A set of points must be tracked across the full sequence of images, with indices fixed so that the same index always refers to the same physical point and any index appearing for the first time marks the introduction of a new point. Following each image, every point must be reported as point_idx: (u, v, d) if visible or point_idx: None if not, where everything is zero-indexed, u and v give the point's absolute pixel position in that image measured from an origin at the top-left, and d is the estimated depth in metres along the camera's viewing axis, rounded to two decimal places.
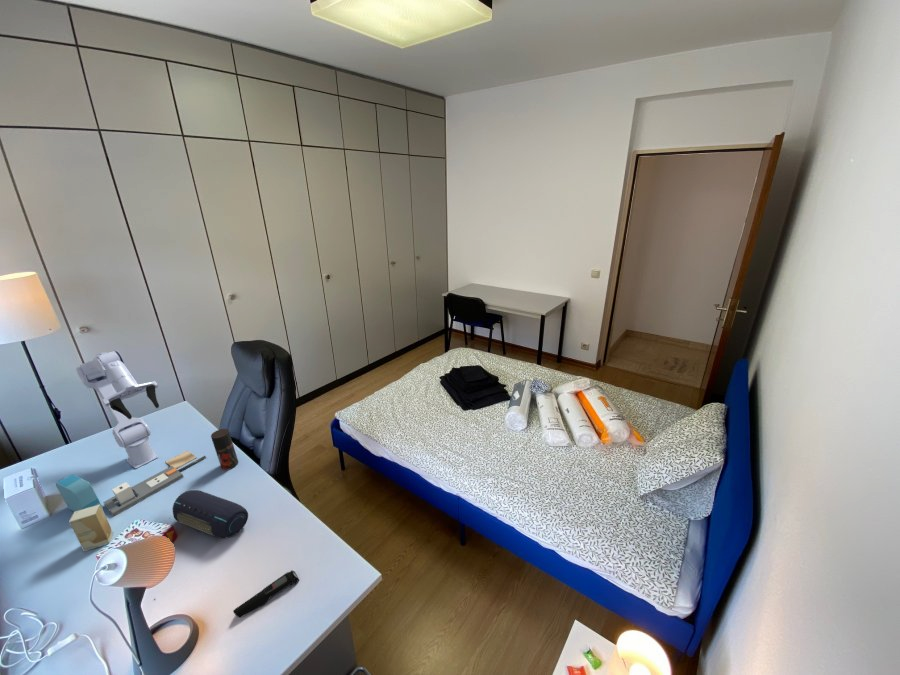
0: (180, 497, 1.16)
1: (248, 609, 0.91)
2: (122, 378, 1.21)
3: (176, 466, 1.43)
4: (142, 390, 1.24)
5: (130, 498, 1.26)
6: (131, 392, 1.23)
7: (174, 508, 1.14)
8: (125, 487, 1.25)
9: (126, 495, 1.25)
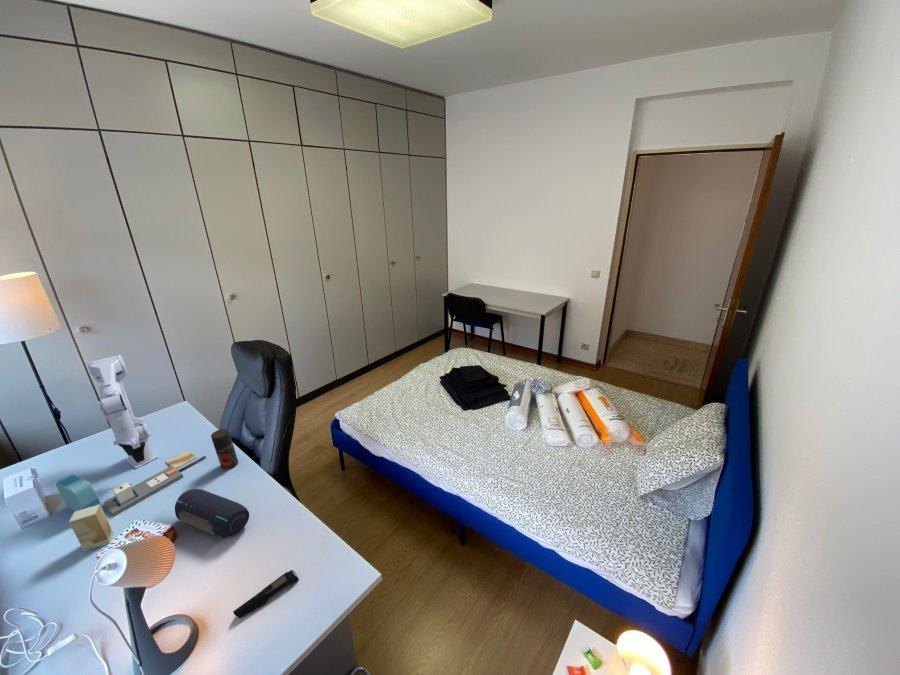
0: (182, 496, 1.16)
1: (248, 610, 0.91)
2: (113, 431, 1.26)
3: (176, 466, 1.43)
4: None
5: (130, 498, 1.26)
6: None
7: (176, 507, 1.15)
8: (125, 487, 1.25)
9: (126, 495, 1.25)
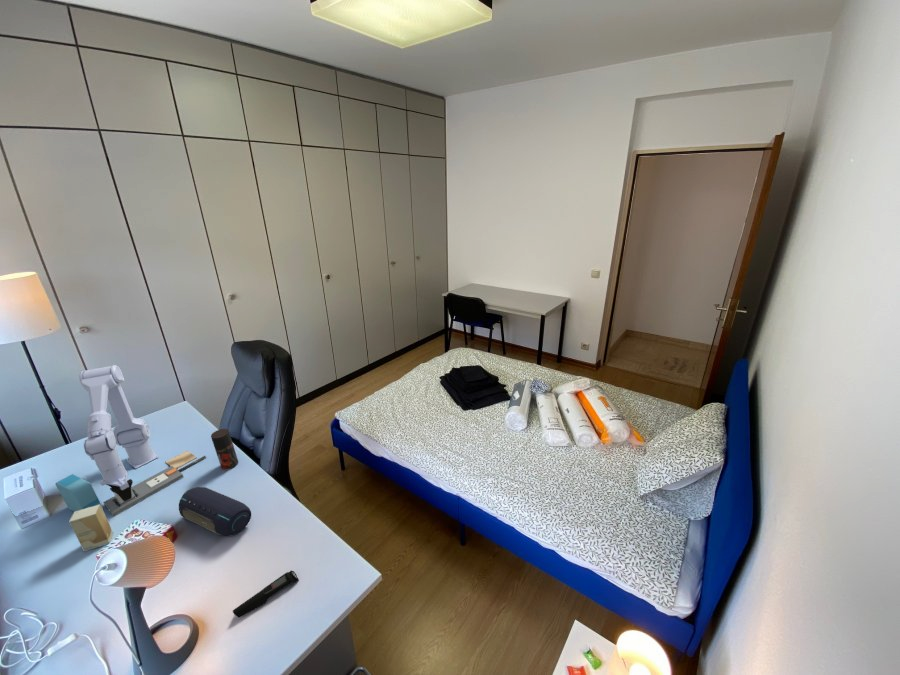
0: (186, 493, 1.17)
1: (247, 609, 0.91)
2: (100, 471, 1.20)
3: (176, 466, 1.43)
4: None
5: (130, 498, 1.26)
6: None
7: (180, 504, 1.15)
8: None
9: None
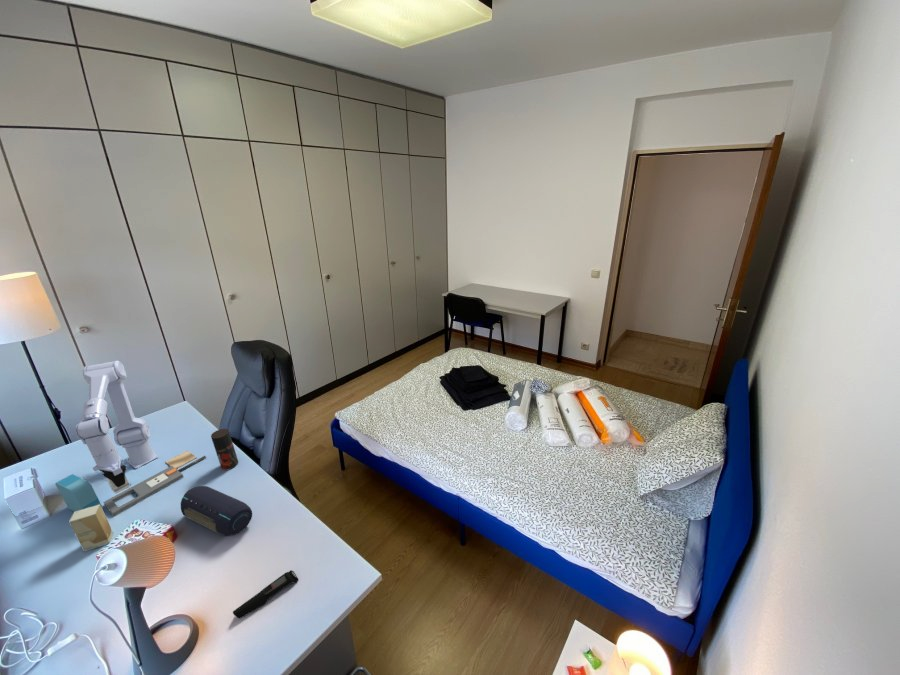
0: (188, 492, 1.18)
1: (248, 610, 0.91)
2: None
3: (176, 466, 1.43)
4: None
5: (124, 485, 1.24)
6: None
7: (182, 503, 1.16)
8: None
9: None
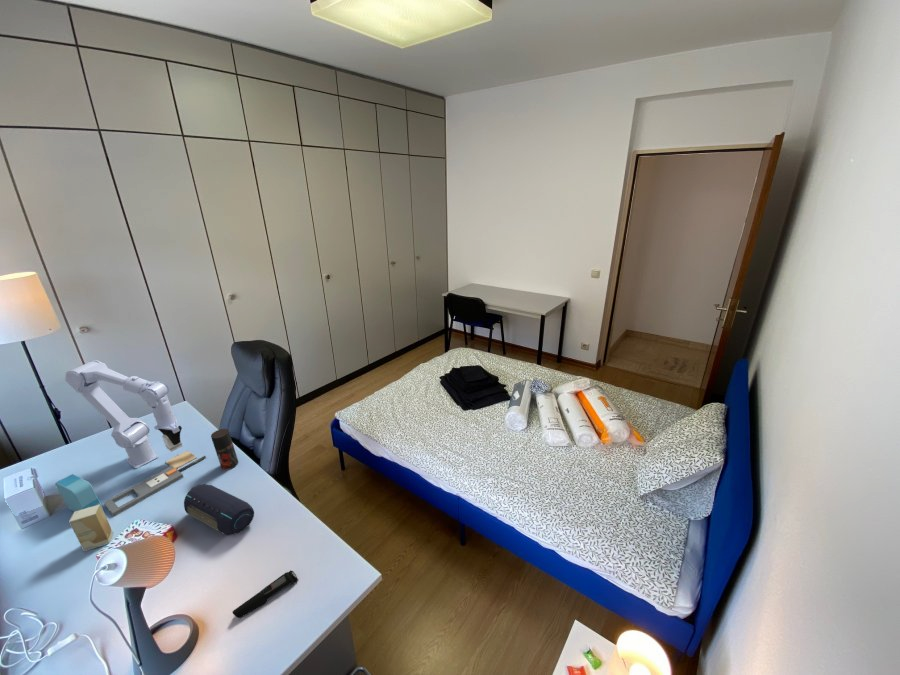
0: (191, 490, 1.18)
1: (247, 610, 0.91)
2: None
3: (176, 466, 1.43)
4: None
5: (177, 444, 1.43)
6: None
7: (185, 501, 1.17)
8: None
9: None
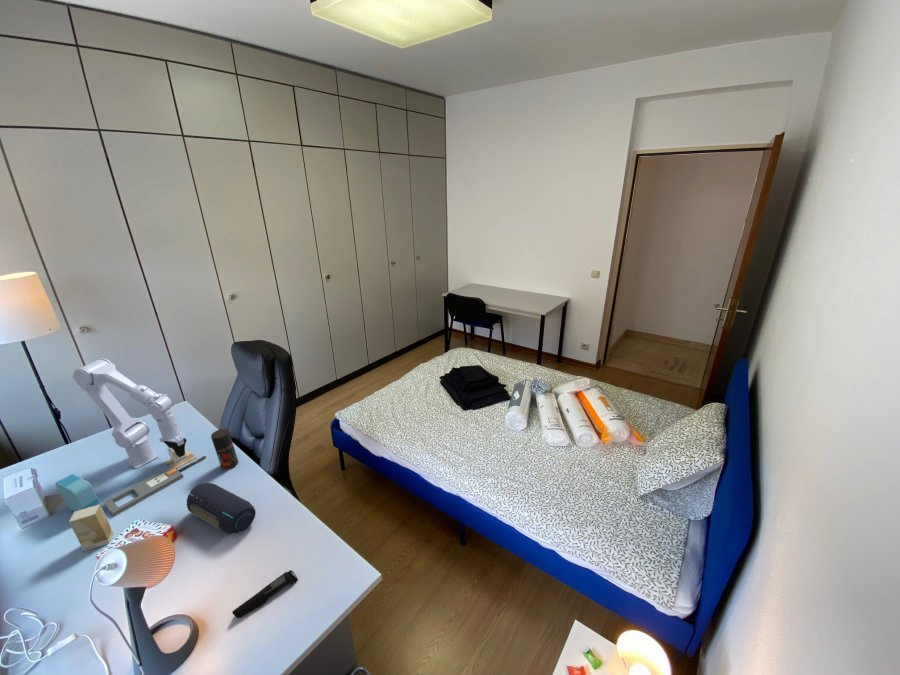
0: (194, 489, 1.19)
1: (247, 610, 0.91)
2: (159, 429, 1.38)
3: (176, 466, 1.43)
4: None
5: (182, 457, 1.45)
6: None
7: (188, 499, 1.17)
8: None
9: None
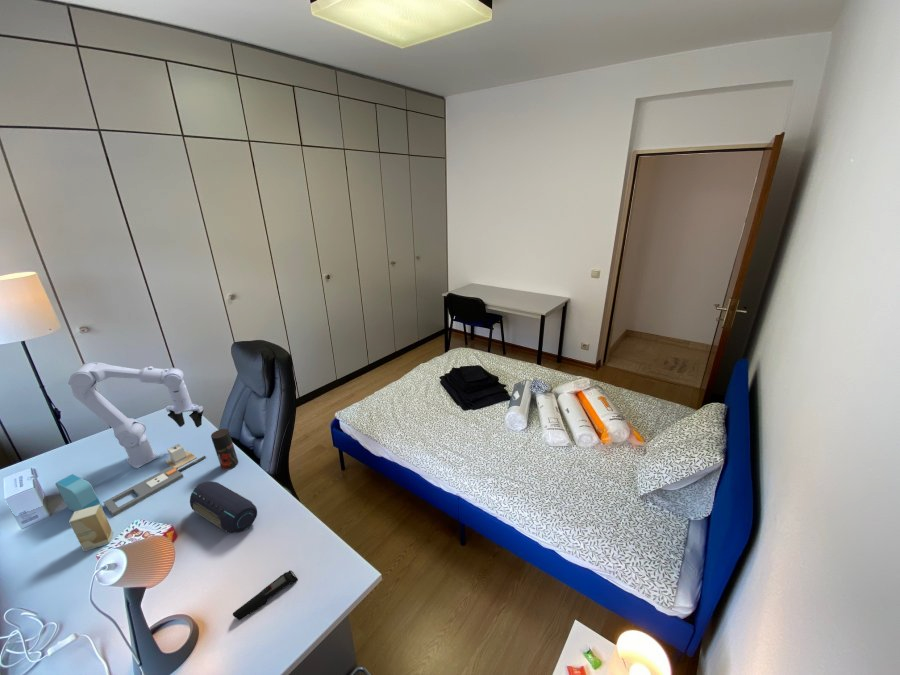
0: (197, 487, 1.20)
1: (248, 611, 0.91)
2: (175, 402, 1.43)
3: (176, 466, 1.43)
4: None
5: (182, 457, 1.45)
6: None
7: (191, 497, 1.18)
8: (178, 447, 1.44)
9: (179, 455, 1.44)
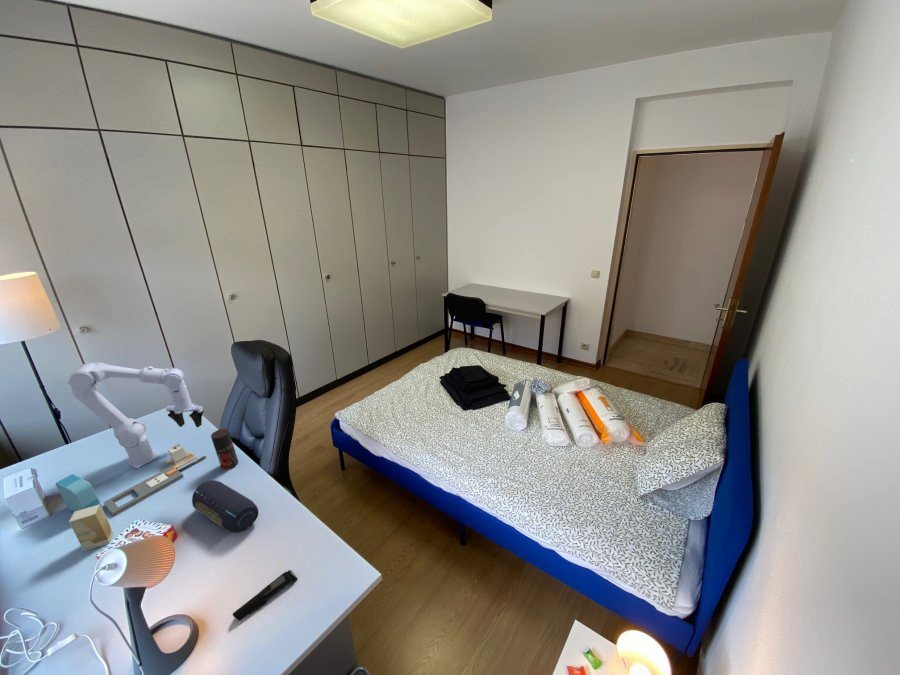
0: (200, 486, 1.20)
1: (248, 611, 0.91)
2: (175, 402, 1.43)
3: (176, 466, 1.43)
4: None
5: (182, 457, 1.45)
6: None
7: (193, 496, 1.18)
8: (178, 447, 1.44)
9: (179, 455, 1.44)
